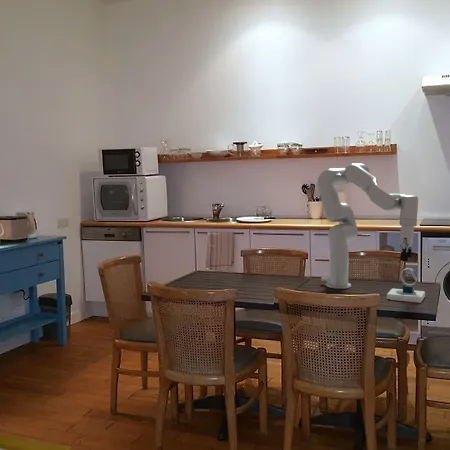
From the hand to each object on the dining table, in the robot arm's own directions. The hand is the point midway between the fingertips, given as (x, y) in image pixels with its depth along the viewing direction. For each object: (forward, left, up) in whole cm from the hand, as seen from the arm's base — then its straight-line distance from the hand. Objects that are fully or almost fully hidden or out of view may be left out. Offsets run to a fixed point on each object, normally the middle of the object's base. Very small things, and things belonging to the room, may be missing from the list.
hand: (405, 258), depth 268 cm
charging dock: (+1, +5, -18) cm, 19 cm away
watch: (+2, +2, -16) cm, 16 cm away
